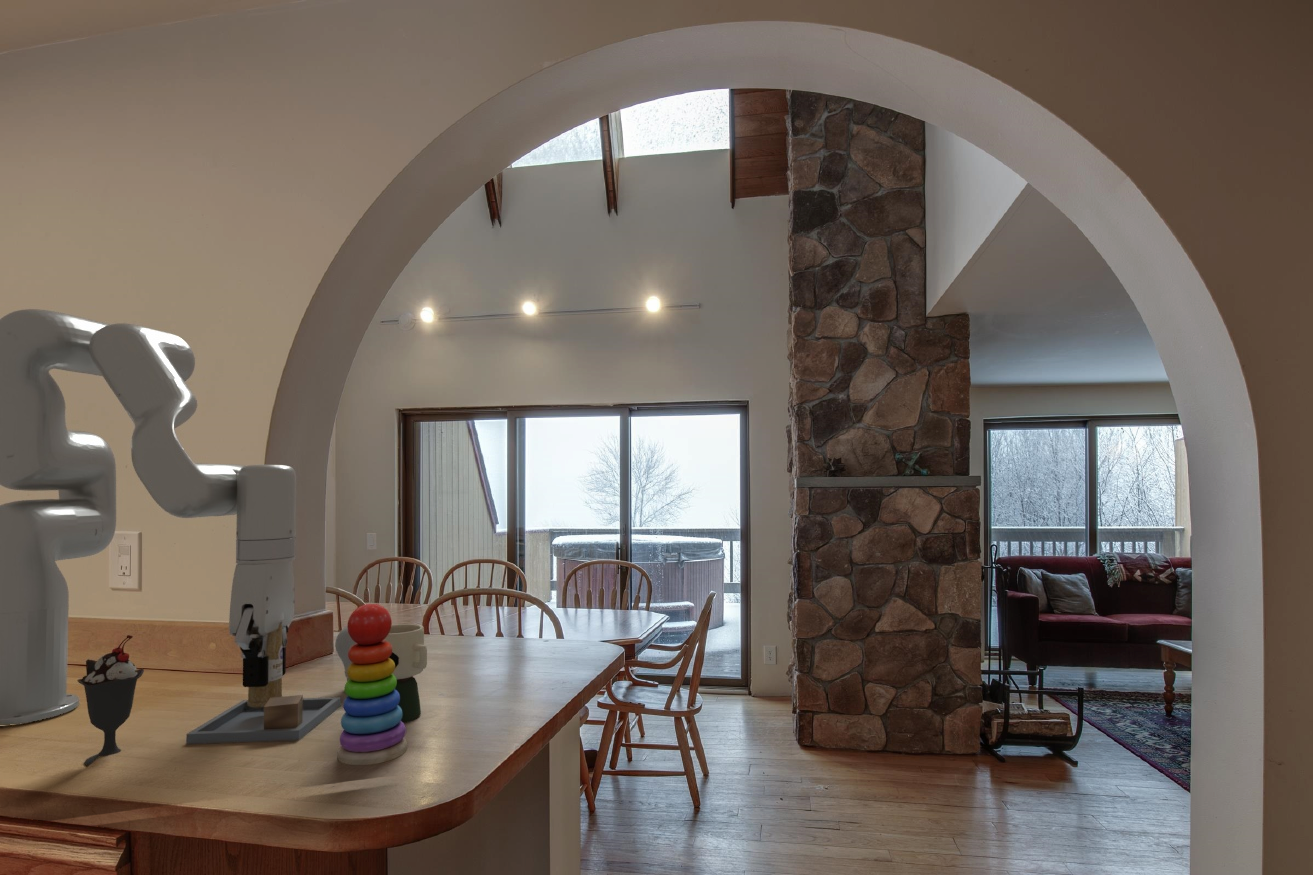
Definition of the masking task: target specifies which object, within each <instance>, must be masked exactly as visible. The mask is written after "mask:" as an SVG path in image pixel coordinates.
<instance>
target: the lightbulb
mask: <svg viewBox="0 0 1313 875" xmlns="http://www.w3.org/2000/svg"><path fill="white" fill-rule="evenodd" d="M355 644H357V643H356V642H354V641H353V640H352V639H351V637H350V635H349V633H348V628H347V625H346V626H344V627H343V628H342V629H341V630H340V631H339V632H338V634H337V635H336V639H335V644H334V648H335V651H336V653H337V655H338V657H339V658H340V660H341V661H342V664H343V666H344V667H343V668H344V675H345V677H346V682H347V681H348V680H349V677H348V676H347V669H348V667H349V666H350V665H351V664H352V663H353V662H351V661H350V659H349V657H348V652H349V649H350V648H351V647H352V646H353V645H355Z"/></svg>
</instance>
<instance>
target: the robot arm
mask: <svg viewBox="0 0 1313 875" xmlns="http://www.w3.org/2000/svg"><path fill="white" fill-rule="evenodd" d="M195 367H196V358H195V354H194V352H193V350H192V348H191V346H190V345H189V343H188V342H186V341H185V340H184V339H183V338H181V337H180V336H179V335H177V334H174V333H170V332H167V331H163V330H159V329H158V330H157V329H155V328H151V327H146V326H143V325H142V326H141V325H137V324H131V323H126V322H125V323H112V324H110V323H105V322H101V321H97V320H93V319H87V318H84V317H80V316H76V315H72V314H67V313H63V312H58V311H52V310H48V309H47V310H46V309H37V308H36V309H33V308H32V309H31V308H29V309H27V308H26V309H19V310H14V311H12V312H9V313H7V314H6V315H4V316H3V317H1V318H0V486H1V487H3V488H7V489H9V490H14V491H24V492H25V491H28V492H29V491H32V492H38V491H40V492H41V491H45V492H46V491H58V498H54V499H53V498H48V499H47V498H45V499H42V498H41V499H24V500H23V499H22V500H15V501H10V502H6V503H3V504H1V505H0V725H10V724H18V725H21V724H20V723H25V724H28V723H27V722H30V723H33V722H32V721H35V722H38V721H37V720H39V721H43V720H42V719H44V720H47V719H46V718H48V719H50V717H51V718H53V717H54V716H55V717H57V716H61V715H64V714H65V713H68V712H71V711H73V710H74V708H75V709H76V708H78V707H79V705H80V696H78V695H76V694H72V693H67V686H68V685H67V680H68V673H67V672H68V648H69V647H68V644H69V641H68V639H69V606H70V603H69V601H70V600H69V598H70V596H69V587H68V582H67V580H66V578H65V577H64V575H63V573H62V571H61V570H60V568H59V567H58V565H57V563H56V562H57V561H63V560H72V559H78V558H86V557H90V556H95V555H97V554H99V553H101V552H103V551H104V550H105V549H106V548H108V547H109V545H110V544H111V543H112V540H113V539H114V536H115V532H116V527H117V467H116V466H117V465H116V458H115V456H114V453H113V450H112V448H111V447H110V445H109V444H108V442H107V441H106V440H104V438H102V437H101V436H99V435H97V434H95V433H92V432H88V431H81V430H71V429H69V430H68V428H67V425H66V424H67V423H66V402H65V401H66V400H65V397H64V394H63V393H62V392H63V391H62V390H61V388H60V387H59V385H58V383H57V382H56V381H55V379H54V378H53V376H52V375H51V374H50V371H51V370H53V369H56V370H61V371H67V372H72V373H81V374H87V375H93V376H99V377H103V379H104V380H105V381H106V384H107V385H108V386H109V388H110V389H111V391H112V392H113V394H114V395H115V397H116V398H117V399H118V401H119V403H120V404H121V405H122V407H123V408H124V411H125V412H126V413H127V415H128V416H129V418H130V419H131V421H132V422H133V425H134V429H133V432H132V436H131V442H130V452H131V454H130V455H131V462H132V466H133V469H134V471H135V474H136V476H137V477H138V478H139V480H140V482H141V483H142V484H143V486H144V487H145V489H146V490H147V492H148V494H150V497H151V498H152V499H153V500H154V502H155V503H156V505H158V506H159V507H160V508H161V509H162V510H164V511H165V512H166V513H168V514H170V515H171V516H174V517H177V518H182V519H195V518H205V517H222V516H223V517H224V516H234V515H236V528H235V529H236V534H235V537H236V539H235V542H236V543H235V545H236V546H235V564H236V565H235V568H234V573H233V579H232V586H231V590H230V593H231V594H230V607H229V618H228V619H229V621H228V623H229V624H228V632H229V634H230V635H231V636H233V637H235V638H234V643H235V644H236V645H237V646H238V647H239V649H240V651H241V652H240V653H241V654H240V657H241V659H242V687H244V688H248V687H264V686H266V685H267V684H268V661H269V656H265V654H266V646H267V638H268V634H269V633H271V632H273V631H275V630H276V629H278V627H279V623H280V622H282V659H283V660H282V677H283V676H284V675H285V674H286V663H287V662H286V660H287V659H286V658H287V657H286V656H287V653H286V652H287V648H286V647H287V645H288V636H287V634H288V633H289V628H290V625H291V624H292V621H293V620H294V617H295V602H296V601H295V597H296V596H295V578H294V576H295V575H294V564H293V562H294V561H295V560H296V545H297V540H296V539H297V538H296V536H297V534H296V533H297V532H296V531H297V530H296V529H297V526H296V525H297V473H296V470H295V469H294V468H293V467H292V466H289V465H286V464H285V465H284V464H249V465H241V464H233V463H231V464H230V463H229V464H228V463H227V464H226V463H194V461H193V460H192V458H191V457H190V456H189V454H188V453H187V452H186V450H185V449H184V447H183V445H182V444H181V442H180V440H179V438H178V436H177V434H176V430H175V429H176V428H178V427H180V426H182V425H183V424H185V423H186V422H187V421H189V420H190V419H191V417H192V416H193V415H194V414H195V413H196V411H197V408H198V400H197V398H196V396H195V395H194V393H193V392H192V390H191V389H190V387H189V386H188V384H187V383H186V381H187V380H189V379H190V378H191V376H192V375H193V372H194V371H195ZM282 613H283V615H284V619H283V620H282V621H279V618H280V616H281V614H282ZM251 630H258V632H259V634H251ZM252 639H259V646H258V644H257V642H256V641H255V640H252ZM63 713H64V714H63ZM60 714H61V715H60ZM55 717H54V718H55Z"/></svg>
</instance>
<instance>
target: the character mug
mask: <svg viewBox="0 0 1313 875" xmlns="http://www.w3.org/2000/svg"><path fill="white" fill-rule="evenodd" d="M383 641H387V642H389V643H390V644H391V646H392V654H391V656H390V657H389V658H390V659H392V660H393V661H394V663H395V670H394V672H393V673H392V674H393V675H394V676H395V677H396V679H397V685H396V687H395V690H397V691H398V693H399V695H400V701H399V704H398V706H399V707H400V708H401V709H402V719H401V721H402V722H403V723H404V724H406V723H410V722H412V721H414V720H415V719H417V718H419V717H420V716H421V715H422V711H421V710H422V709H421V701H420V695H419V688H418V686H419V685H418V682H417V680H416V677H415V676H417V675H419V674H421V673H422V672H424V669H426V668H427V665H428V648H427V646H426V645H425V627H424V626H423V625H421V624H418V623H417V624H416V623H399V624H398V623H396V624H392V625H391V629H390V632H389V634H388V635H387V637H386V638H385V639H384V640H383Z"/></svg>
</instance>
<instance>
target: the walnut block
mask: <svg viewBox="0 0 1313 875" xmlns="http://www.w3.org/2000/svg"><path fill="white" fill-rule="evenodd" d="M303 695H304V694H297V695H287V696H283V697H275V698H270V699H269V700H268V702H267V703H266V705H265V706H264V729H295V728H297V727H298V726H299V725H301V724H302V722H303V698H304V697H303Z"/></svg>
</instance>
